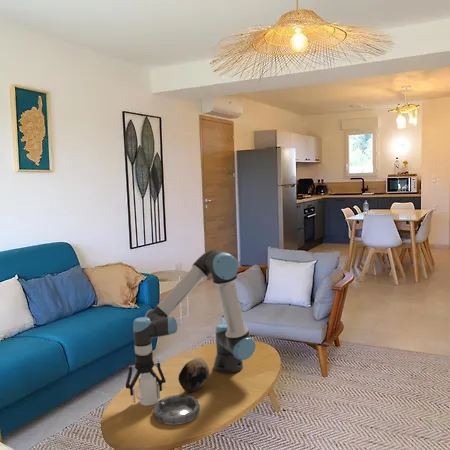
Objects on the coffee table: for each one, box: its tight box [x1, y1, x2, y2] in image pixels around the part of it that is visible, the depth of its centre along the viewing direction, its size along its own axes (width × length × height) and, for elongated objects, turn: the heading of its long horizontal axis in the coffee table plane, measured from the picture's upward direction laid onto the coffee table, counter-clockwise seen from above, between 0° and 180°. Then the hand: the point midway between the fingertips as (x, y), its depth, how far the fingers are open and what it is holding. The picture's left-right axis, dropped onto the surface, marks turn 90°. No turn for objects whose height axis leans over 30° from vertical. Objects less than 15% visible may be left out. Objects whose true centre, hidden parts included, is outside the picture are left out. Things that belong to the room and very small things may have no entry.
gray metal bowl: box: [153, 394, 201, 426], centre depth 198 cm, size 19×19×3 cm
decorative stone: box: [177, 357, 211, 393], centre depth 217 cm, size 18×9×15 cm, turn 137°
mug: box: [135, 372, 160, 407], centre depth 207 cm, size 12×8×12 cm
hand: (146, 399), depth 208 cm, fingers open, 10 cm apart
